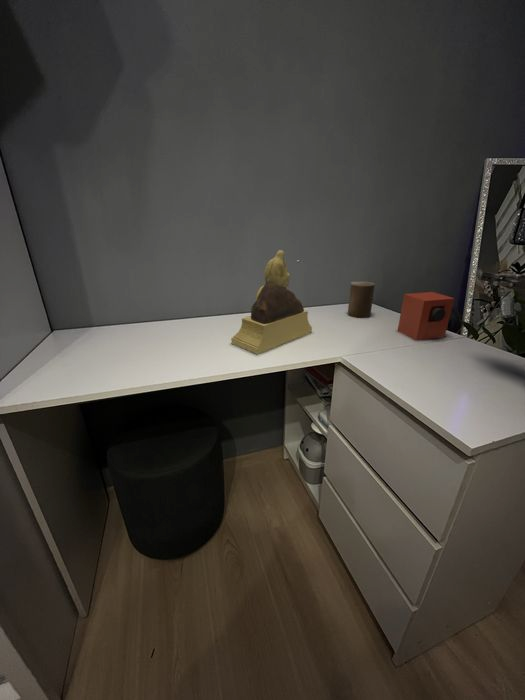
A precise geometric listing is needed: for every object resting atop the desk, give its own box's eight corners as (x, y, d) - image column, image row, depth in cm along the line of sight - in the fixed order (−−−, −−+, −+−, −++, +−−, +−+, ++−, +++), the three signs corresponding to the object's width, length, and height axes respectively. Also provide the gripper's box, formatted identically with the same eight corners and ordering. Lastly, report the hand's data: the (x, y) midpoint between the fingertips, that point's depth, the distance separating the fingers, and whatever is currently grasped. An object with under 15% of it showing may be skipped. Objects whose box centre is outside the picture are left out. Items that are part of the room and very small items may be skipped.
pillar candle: (367, 319, 125) (372, 283, 119) (344, 315, 130) (348, 281, 124) (372, 313, 133) (377, 279, 127) (351, 310, 138) (354, 277, 131)
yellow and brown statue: (286, 324, 120) (288, 246, 108) (311, 332, 112) (316, 248, 100) (231, 343, 103) (226, 252, 90) (257, 354, 94) (255, 255, 82)
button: (443, 321, 101) (446, 308, 99) (432, 322, 100) (435, 309, 98) (439, 319, 103) (442, 307, 101) (428, 320, 102) (431, 308, 100)
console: (444, 336, 106) (454, 298, 101) (415, 340, 104) (424, 300, 98) (424, 327, 115) (432, 291, 109) (397, 330, 112) (404, 294, 107)
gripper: (523, 307, 68) (460, 290, 84) (566, 303, 71) (498, 287, 87) (534, 274, 65) (467, 263, 81) (579, 271, 68) (506, 261, 84)
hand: (483, 276), depth 84 cm, fingers closed
